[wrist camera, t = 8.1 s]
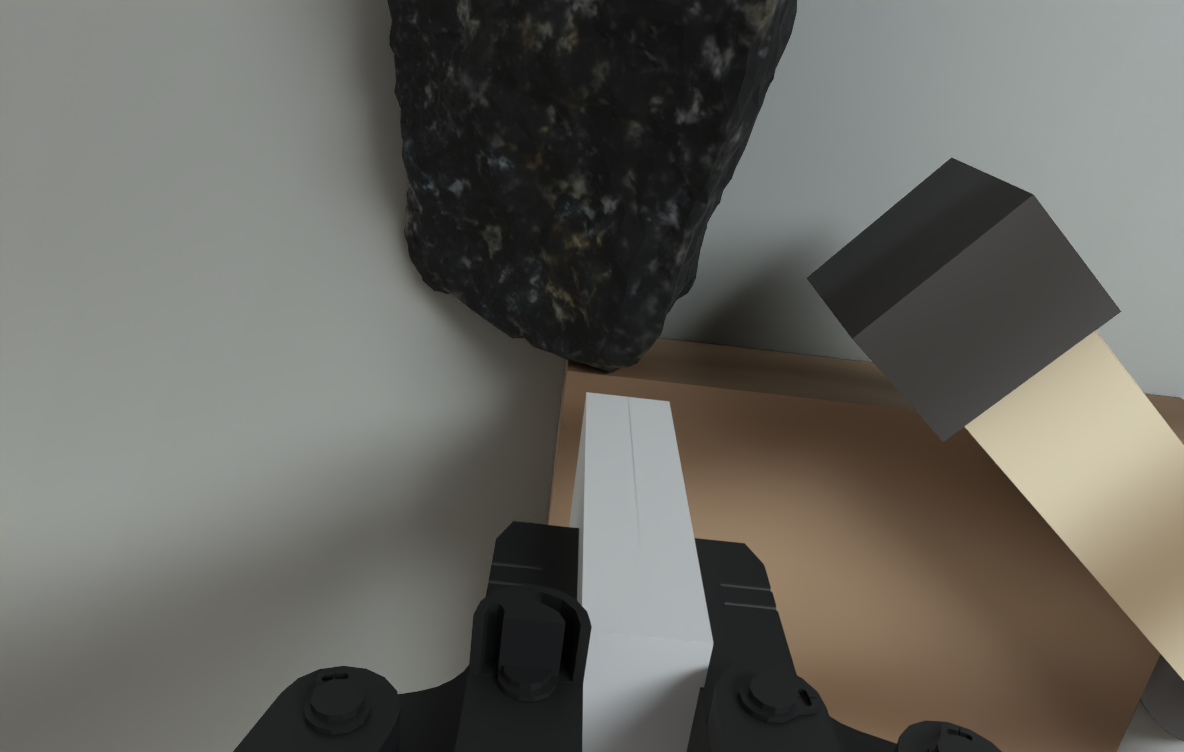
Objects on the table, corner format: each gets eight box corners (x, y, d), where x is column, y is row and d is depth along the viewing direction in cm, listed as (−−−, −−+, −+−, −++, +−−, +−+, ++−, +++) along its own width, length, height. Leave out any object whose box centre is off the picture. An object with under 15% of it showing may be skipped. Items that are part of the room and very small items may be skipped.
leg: (1333, 651, 20) (1461, 765, 17) (1201, 728, 21) (1301, 849, 18) (951, 158, 16) (1033, 194, 13) (806, 278, 17) (851, 339, 14)
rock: (383, 291, 20) (306, 399, 15) (426, -252, 16) (343, -378, 11) (696, 340, 20) (734, 462, 15) (812, -178, 17) (918, -263, 11)
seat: (570, 327, 20) (559, 478, 14) (1446, 428, 21) (1809, 612, 15) (514, 795, 25) (488, 1056, 19) (1214, 858, 26) (1407, 1127, 20)
